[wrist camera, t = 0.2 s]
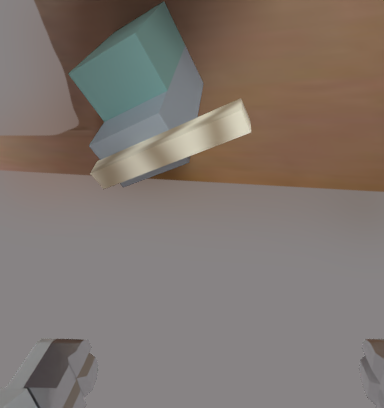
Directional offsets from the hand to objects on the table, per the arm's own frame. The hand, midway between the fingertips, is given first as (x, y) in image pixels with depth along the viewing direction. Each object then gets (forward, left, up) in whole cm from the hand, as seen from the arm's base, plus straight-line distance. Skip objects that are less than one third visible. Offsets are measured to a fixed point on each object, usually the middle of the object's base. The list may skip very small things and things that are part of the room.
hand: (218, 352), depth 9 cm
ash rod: (+11, 0, -26) cm, 28 cm away
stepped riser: (+12, -5, -51) cm, 53 cm away
